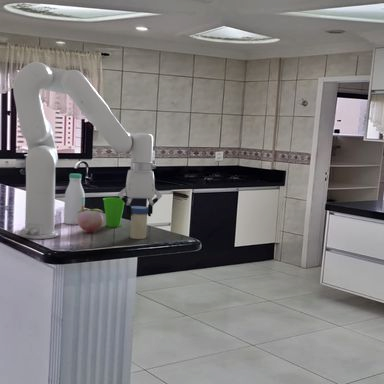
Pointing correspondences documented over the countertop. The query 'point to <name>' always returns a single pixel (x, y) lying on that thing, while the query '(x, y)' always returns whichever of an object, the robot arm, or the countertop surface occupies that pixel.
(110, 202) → the cup
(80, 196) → the milk bottle
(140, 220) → the jar
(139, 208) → the jar lid
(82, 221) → the decorative fruit
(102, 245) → the countertop surface
